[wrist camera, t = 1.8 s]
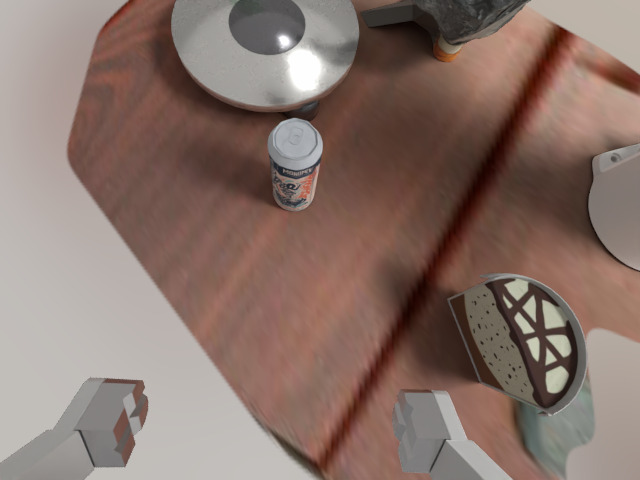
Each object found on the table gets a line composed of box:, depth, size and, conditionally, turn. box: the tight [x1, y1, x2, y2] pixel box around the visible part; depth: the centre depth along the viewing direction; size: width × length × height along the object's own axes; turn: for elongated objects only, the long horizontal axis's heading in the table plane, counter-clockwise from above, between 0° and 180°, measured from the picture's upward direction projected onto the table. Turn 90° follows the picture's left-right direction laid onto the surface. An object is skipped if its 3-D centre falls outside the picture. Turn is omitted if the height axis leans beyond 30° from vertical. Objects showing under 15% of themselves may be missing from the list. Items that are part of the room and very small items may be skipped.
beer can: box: [268, 118, 323, 211], centre depth 34 cm, size 5×5×12 cm
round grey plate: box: [171, 0, 359, 122], centre depth 42 cm, size 22×22×6 cm
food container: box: [447, 273, 588, 416], centre depth 33 cm, size 12×6×10 cm, turn 18°
